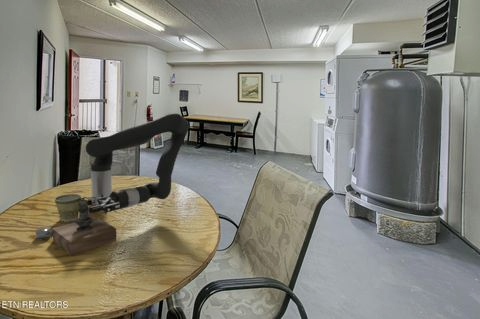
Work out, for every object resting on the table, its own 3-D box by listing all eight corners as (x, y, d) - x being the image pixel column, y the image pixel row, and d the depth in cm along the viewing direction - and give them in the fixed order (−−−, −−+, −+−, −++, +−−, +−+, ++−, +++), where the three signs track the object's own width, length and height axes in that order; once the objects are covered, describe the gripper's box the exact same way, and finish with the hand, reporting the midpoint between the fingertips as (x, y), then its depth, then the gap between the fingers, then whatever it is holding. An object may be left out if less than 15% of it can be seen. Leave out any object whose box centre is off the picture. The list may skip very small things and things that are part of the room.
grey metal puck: (34, 237, 114) (33, 229, 113) (49, 233, 118) (48, 226, 117) (38, 241, 111) (38, 233, 110) (53, 237, 114) (53, 229, 114)
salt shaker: (79, 224, 114) (78, 194, 112) (96, 225, 115) (94, 194, 113) (72, 231, 108) (70, 199, 106) (89, 231, 109) (88, 199, 107)
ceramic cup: (55, 225, 125) (53, 202, 123) (57, 216, 134) (55, 195, 132) (90, 220, 131) (89, 198, 129) (89, 212, 140) (88, 192, 138)
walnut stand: (53, 241, 111) (52, 228, 110) (96, 228, 123) (95, 216, 122) (71, 256, 101) (70, 242, 100) (116, 240, 113) (116, 228, 113)
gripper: (115, 185, 126) (75, 193, 114) (134, 193, 117) (92, 202, 105) (116, 202, 128) (76, 212, 115) (134, 211, 119) (93, 222, 106)
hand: (83, 207), depth 110 cm, fingers open, 8 cm apart
